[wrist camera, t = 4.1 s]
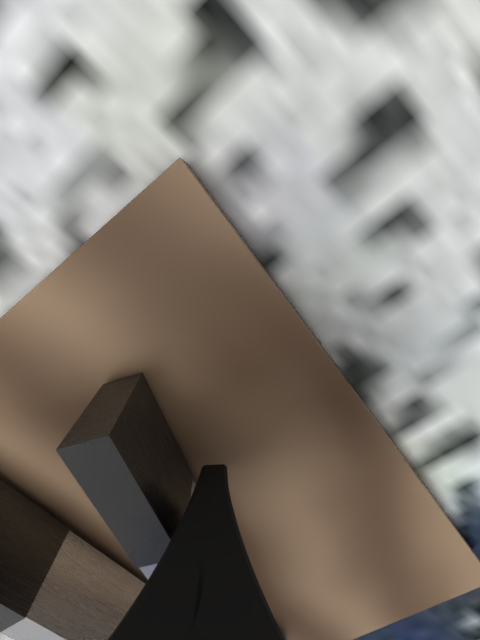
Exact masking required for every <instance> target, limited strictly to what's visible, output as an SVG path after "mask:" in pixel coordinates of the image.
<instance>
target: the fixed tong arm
mask: <svg viewBox="0 0 480 640" xmlns="http://www.w3.org/2000/svg"><path fill="white" fill-rule="evenodd" d="M144 586H145V583H144V582H142V581H141V580H140V579H138V578H137V577H135V576H134V575H132V574H131V573H130V572H128V571H127V570H125V569H124V568H122V567H121V566H120V565H118V564H117V563H115V562H114V561H112V560H111V559H110V558H108V557H107V556H105V555H104V554H103V553H101V552H100V551H98V550H97V549H95V548H94V547H93V546H91V545H90V544H88V543H87V542H85V541H84V540H83V539H81V538H80V537H78V536H77V535H75V534H74V533H73V532H71V531H70V528H69V527H68V526H66V525H65V524H64V523H62V522H61V521H59V520H58V519H56V518H55V517H54V516H52V515H51V514H49V513H48V512H47V511H45V510H44V509H42V508H41V507H39V506H38V505H37V504H35V503H34V502H32V501H31V500H30V499H28V498H27V497H25V496H24V495H22V494H21V493H20V492H18V491H17V490H15V489H14V488H13V487H11V486H10V485H8V484H7V483H5V482H4V481H3V480H1V479H0V632H1V633H3V634H5V635H6V636H8V637H10V638H12V639H14V640H108V638H109V637H110V636H111V634H112V633H113V632H114V630H115V629H116V627H117V626H118V625H119V623H120V622H121V620H122V619H123V617H124V616H125V614H126V613H127V612H128V610H129V609H130V607H131V605H132V604H133V602H134V601H135V599H136V598H137V596H138V595H139V593H140V592H141V590H142V589H143V587H144Z"/></svg>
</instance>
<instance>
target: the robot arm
mask: <svg viewBox="0 0 480 640" xmlns="http://www.w3.org/2000/svg"><path fill="white" fill-rule="evenodd" d="M108 640H285V639H284V637H283V635H282V633H281V630H280V628H279V626H278V624H277V622H276V620H275V618H274V616H273V614H272V612H271V610H270V607H269V605H268V603H267V601H266V599H265V596H264V594H263V592H262V589H261V587H260V585H259V582H258V580H257V577H256V575H255V572H254V570H253V567H252V565H251V562H250V560H249V557H248V554H247V551H246V549H245V546H244V543H243V540H242V537H241V534H240V531H239V527H238V524H237V521H236V517H235V513H234V510H233V506H232V502H231V497H230V492H229V487H228V473H227V466H226V465H224V464H217V465H204V466H203V467H202V468H201V472H200V475H199V478H198V481H197V484H196V486H195V489H194V491H193V494H192V496H191V499H190V501H189V503H188V506H187V508H186V510H185V512H184V514H183V516H182V519H181V521H180V523H179V525H178V527H177V529H176V531H175V533H174V535H173V536H172V538H171V540H170V542H169V544H168V546H167V548H166V550H165V552H164V553H163V555H162V557H161V559H160V561H159V562H158V564H157V566H156V567H155V569H154V571H153V572H152V574H151V576H150V577H149V579H148V581H147V582H146V584H145V586H144V587H143V589H142V590H141V592H140V593H139V595H138V596H137V598H136V599H135V601H134V602H133V604H132V605H131V607H130V609H129V610H128V612H127V613H126V614H125V616H124V617H123V619H122V620H121V622H120V623H119V625H118V626H117V627H116V629H115V630H114V632H113V633H112V634H111V636H110V637H109V638H108Z"/></svg>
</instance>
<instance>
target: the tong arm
mask: <svg viewBox="0 0 480 640" xmlns="http://www.w3.org/2000/svg"><path fill="white" fill-rule="evenodd" d="M56 451H57V453H58V454H59V456H60V457H61V459H62V460H63V462H64V463H65V465H66V466H67V467H68V469H69V470H70V472H71V473H72V475H73V476H74V478H75V479H76V481H77V482H78V484H79V485H80V486H81V488H82V489H83V491H84V492H85V494H86V495H87V497H88V498H89V500H90V501H91V503H92V504H93V505H94V507H95V508H96V510H97V511H98V513H99V514H100V516H101V517H102V519H103V520H104V522H105V523H106V524H107V526H108V527H109V529H110V530H111V532H112V533H113V535H114V536H115V538H116V539H117V541H118V542H119V543H120V545H121V546H122V548H123V549H124V551H125V552H126V554H127V555H128V557H129V558H130V560H131V561H132V562H133V564H134V565H135V567H136V568H140V569H141V571H142V572H143V574H144V575H145V577H146V578H147V580H148V579H149V577H150V576H151V574H152V572H153V571H154V569H155V567H156V566H157V564H158V562H159V561H160V559H161V557H162V555H163V553H164V552H165V550H166V548H167V546H168V544H169V542H170V540H171V538H172V536H173V535H174V533H175V531H176V529H177V527H178V525H179V523H180V521H181V519H182V516H183V514H184V512H185V510H186V508H187V506H188V503H189V501H190V499H191V496H192V494H193V491H194V489H195V486H196V483H195V481H194V479H193V476H194V475H193V473H192V471H191V469H190V467H189V465H188V463H187V461H186V459H185V457H184V455H183V453H182V451H181V449H180V447H179V445H178V443H177V441H176V439H175V437H174V435H173V433H172V431H171V429H170V427H169V425H168V423H167V421H166V419H165V417H164V415H163V412H162V410H161V408H160V406H159V404H158V402H157V400H156V398H155V396H154V394H153V392H152V390H151V388H150V386H149V384H148V382H147V380H146V378H145V376H144V374H143V372H142V373H138V374H135V375H132V376H128V377H125V378H122V379H118V380H115V381H111V382H108V383H105V384H103V385H102V386H101V388H100V389H99V390H98V392H97V393H96V395H95V396H94V397H93V399H92V400H91V402H90V403H89V404H88V406H87V407H86V408H85V410H84V411H83V413H82V414H81V415H80V417H79V418H78V420H77V421H76V422H75V424H74V425H73V427H72V428H71V429H70V431H69V432H68V433H67V435H66V436H65V438H64V439H63V440H62V442H61V443H60V445H59V446H58V447H57V449H56ZM282 635H283V634H282ZM283 637H284V639H285V640H287V638H286V637H285V636H284V635H283Z"/></svg>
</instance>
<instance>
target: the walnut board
mask: <svg viewBox="0 0 480 640" xmlns="http://www.w3.org/2000/svg"><path fill="white" fill-rule="evenodd" d="M142 372H143V374H144V376H145V378H146V380H147V382H148V384H149V386H150V388H151V390H152V392H153V394H154V396H155V398H156V400H157V402H158V404H159V406H160V408H161V410H162V412H163V415H164V417H165V419H166V421H167V423H168V425H169V427H170V429H171V431H172V433H173V435H174V437H175V439H176V441H177V443H178V445H179V447H180V449H181V451H182V453H183V455H184V457H185V459H186V461H187V463H188V465H189V467H190V469H191V471H192V473H193V475H194V476H193V479H194V481H195V483H196V484H197V481H198V478H199V475H200V472H201V468H202V467H203V466H204V465H217V464H224V465H226V466H227V473H228V487H229V492H230V497H231V502H232V506H233V510H234V513H235V517H236V521H237V524H238V527H239V531H240V534H241V537H242V540H243V543H244V546H245V549H246V551H247V554H248V557H249V560H250V562H251V565H252V567H253V570H254V572H255V575H256V577H257V580H258V582H259V585H260V587H261V589H262V592H263V594H264V596H265V599H266V601H267V603H268V605H269V607H270V610H271V612H272V614H273V616H274V618H275V620H276V622H277V624H278V626H279V628H280V630H281V633H282V634H283V635H284V636H285V637H286V638H287V640H353V639H355V638H358V637H360V636H362V635H365V634H367V633H370V632H372V631H374V630H377V629H379V628H382V627H384V626H387V625H389V624H391V623H394V622H396V621H399V620H401V619H404V618H406V617H408V616H411V615H413V614H416V613H418V612H420V611H423V610H425V609H428V608H430V607H433V606H435V605H437V604H440V603H442V602H445V601H447V600H449V599H452V598H454V597H457V596H459V595H462V594H464V593H466V592H469V591H471V590H474V589H476V588H478V587H480V560H479V559H478V557H477V556H476V554H475V553H474V551H473V550H472V549H471V547H470V546H469V545H468V543H467V542H466V540H465V539H464V538H463V536H462V535H461V534H460V532H459V531H458V530H457V528H456V527H455V526H454V524H453V523H452V521H451V520H450V519H449V517H448V516H447V515H446V513H445V512H444V511H443V509H442V508H441V507H440V505H439V504H438V503H437V501H436V500H435V498H434V497H433V496H432V494H431V493H430V492H429V490H428V489H427V488H426V486H425V485H424V484H423V482H422V481H421V479H420V478H419V477H418V475H417V474H416V473H415V471H414V470H413V469H412V467H411V466H410V465H409V463H408V462H407V461H406V459H405V458H404V456H403V455H402V454H401V452H400V451H399V450H398V448H397V447H396V446H395V444H394V443H393V442H392V440H391V439H390V437H389V436H388V435H387V433H386V432H385V431H384V429H383V428H382V427H381V425H380V424H379V423H378V421H377V420H376V419H375V417H374V416H373V414H372V413H371V412H370V410H369V409H368V408H367V406H366V405H365V404H364V402H363V401H362V400H361V398H360V397H359V395H358V394H357V393H356V391H355V390H354V389H353V387H352V386H351V385H350V383H349V382H348V381H347V379H346V378H345V377H344V375H343V374H342V372H341V371H340V370H339V368H338V367H337V366H336V364H335V363H334V362H333V360H332V359H331V358H330V356H329V355H328V353H327V352H326V351H325V349H324V348H323V347H322V345H321V344H320V343H319V341H318V340H317V339H316V337H315V336H314V334H313V333H312V332H311V330H310V329H309V328H308V326H307V325H306V324H305V322H304V321H303V320H302V318H301V317H300V316H299V314H298V313H297V311H296V310H295V309H294V307H293V306H292V305H291V303H290V302H289V301H288V299H287V298H286V297H285V295H284V294H283V292H282V291H281V290H280V288H279V287H278V286H277V284H276V283H275V282H274V280H273V279H272V278H271V276H270V275H269V274H268V272H267V271H266V269H265V268H264V267H263V265H262V264H261V263H260V261H259V260H258V259H257V257H256V256H255V255H254V253H253V252H252V250H251V249H250V248H249V246H248V245H247V244H246V242H245V241H244V240H243V238H242V237H241V236H240V234H239V233H238V232H237V230H236V229H235V227H234V226H233V225H232V223H231V222H230V221H229V219H228V218H227V217H226V215H225V214H224V213H223V211H222V210H221V208H220V207H219V206H218V204H217V203H216V202H215V200H214V199H213V198H212V196H211V195H210V194H209V192H208V191H207V190H206V188H205V187H204V185H203V184H202V183H201V181H200V180H199V179H198V177H197V176H196V175H195V173H194V172H193V171H192V169H191V168H190V166H189V165H188V164H187V163H186V162H185V161H183V160H182V159H181V158H179V159H178V160H177V161H176V162H175V163H174V164H172V165H171V166H170V167H169V168H168V169H167V170H166V171H165V172H163V173H162V174H161V175H160V176H159V177H158V178H157V179H156V180H155V181H153V182H152V183H151V184H150V185H149V186H148V187H147V188H146V189H145V190H143V191H142V192H141V193H140V194H139V195H138V196H137V197H136V198H134V199H133V200H132V201H131V202H130V203H129V204H128V205H127V206H126V207H124V208H123V209H122V210H121V211H120V212H119V213H118V214H117V215H115V216H114V217H113V218H112V219H111V220H110V221H109V222H108V223H107V224H105V225H104V226H103V227H102V228H101V229H100V230H99V231H98V232H97V233H95V234H94V235H93V236H92V237H91V238H90V239H89V240H88V241H86V242H85V243H84V244H83V245H82V246H81V247H80V248H79V249H78V250H76V251H75V252H74V253H73V254H72V255H71V256H70V257H69V258H67V259H66V260H65V261H64V262H63V263H62V264H61V265H60V266H59V267H57V268H56V269H55V270H54V271H53V272H52V273H51V274H50V275H48V276H47V277H46V278H45V279H44V280H43V281H42V282H41V283H40V284H38V285H37V286H36V287H35V288H34V289H33V290H32V291H31V292H30V293H28V294H27V295H26V296H25V297H24V298H23V299H22V300H21V301H19V302H18V303H17V304H16V305H15V306H14V307H13V308H12V309H11V310H9V311H8V312H7V313H6V314H5V315H4V316H3V317H2V318H0V479H1V480H3V481H4V482H5V483H7V484H8V485H10V486H11V487H13V488H14V489H15V490H17V491H18V492H20V493H21V494H22V495H24V496H25V497H27V498H28V499H30V500H31V501H32V502H34V503H35V504H37V505H38V506H39V507H41V508H42V509H44V510H45V511H47V512H48V513H49V514H51V515H52V516H54V517H55V518H56V519H58V520H59V521H61V522H62V523H64V524H65V525H66V526H68V527H69V528H70V531H71V532H73V533H74V534H75V535H77V536H78V537H80V538H81V539H83V540H84V541H85V542H87V543H88V544H90V545H91V546H93V547H94V548H95V549H97V550H98V551H100V552H101V553H103V554H104V555H105V556H107V557H108V558H110V559H111V560H112V561H114V562H115V563H117V564H118V565H120V566H121V567H122V568H124V569H125V570H127V571H128V572H130V573H131V574H132V575H134V576H135V577H137V578H138V579H140V580H141V581H142V582H144V583H145V584H146V582H147V581H148V580H147V578H146V577H145V575H144V574H143V572H142V571H141V569H140V568H136V567H135V565H134V564H133V562H132V561H131V560H130V558H129V557H128V555H127V554H126V552H125V551H124V549H123V548H122V546H121V545H120V543H119V542H118V541H117V539H116V538H115V536H114V535H113V533H112V532H111V530H110V529H109V527H108V526H107V524H106V523H105V522H104V520H103V519H102V517H101V516H100V514H99V513H98V511H97V510H96V508H95V507H94V505H93V504H92V503H91V501H90V500H89V498H88V497H87V495H86V494H85V492H84V491H83V489H82V488H81V486H80V485H79V484H78V482H77V481H76V479H75V478H74V476H73V475H72V473H71V472H70V470H69V469H68V467H67V466H66V465H65V463H64V462H63V460H62V459H61V457H60V456H59V454H58V453H57V451H56V449H57V447H58V446H59V445H60V443H61V442H62V440H63V439H64V438H65V436H66V435H67V433H68V432H69V431H70V429H71V428H72V427H73V425H74V424H75V422H76V421H77V420H78V418H79V417H80V415H81V414H82V413H83V411H84V410H85V408H86V407H87V406H88V404H89V403H90V402H91V400H92V399H93V397H94V396H95V395H96V393H97V392H98V390H99V389H100V388H101V386H102V385H103V384H105V383H108V382H111V381H115V380H118V379H122V378H125V377H128V376H132V375H135V374H138V373H142Z"/></svg>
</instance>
